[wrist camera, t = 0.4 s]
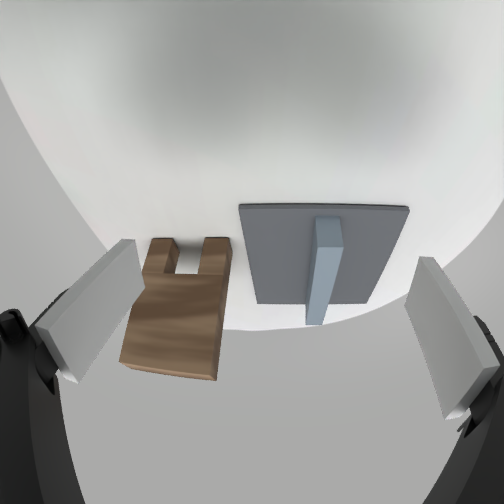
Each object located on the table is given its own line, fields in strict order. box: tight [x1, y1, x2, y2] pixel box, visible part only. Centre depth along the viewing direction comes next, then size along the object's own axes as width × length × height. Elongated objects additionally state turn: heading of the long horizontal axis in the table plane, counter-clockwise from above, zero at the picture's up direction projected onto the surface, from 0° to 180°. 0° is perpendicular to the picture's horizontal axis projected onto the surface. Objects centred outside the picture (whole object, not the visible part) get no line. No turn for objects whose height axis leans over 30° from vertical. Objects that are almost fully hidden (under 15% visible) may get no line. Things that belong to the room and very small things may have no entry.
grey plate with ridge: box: [238, 204, 410, 325], centre depth 36 cm, size 22×18×5 cm
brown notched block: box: [119, 238, 232, 381], centre depth 32 cm, size 3×10×16 cm, turn 96°
